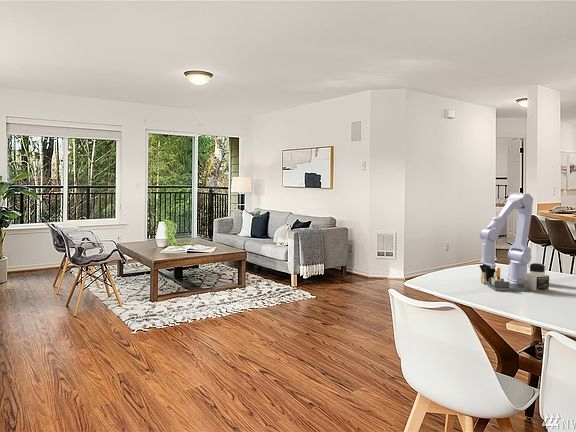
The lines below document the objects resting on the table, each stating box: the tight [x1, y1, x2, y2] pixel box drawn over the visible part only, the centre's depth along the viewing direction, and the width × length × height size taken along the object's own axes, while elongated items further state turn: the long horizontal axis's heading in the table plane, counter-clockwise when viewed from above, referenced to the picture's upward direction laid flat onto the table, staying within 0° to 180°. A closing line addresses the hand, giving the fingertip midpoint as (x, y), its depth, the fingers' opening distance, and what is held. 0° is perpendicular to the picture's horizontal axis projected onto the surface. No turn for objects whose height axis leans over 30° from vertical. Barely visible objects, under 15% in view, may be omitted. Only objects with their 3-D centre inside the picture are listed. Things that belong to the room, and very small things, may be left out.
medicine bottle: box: [525, 262, 550, 293], centre depth 207 cm, size 7×7×12 cm
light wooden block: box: [480, 272, 495, 285], centre depth 220 cm, size 4×5×5 cm
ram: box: [491, 267, 503, 285], centre depth 209 cm, size 5×3×8 cm, turn 175°
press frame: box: [487, 278, 530, 293], centre depth 209 cm, size 10×14×4 cm
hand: (487, 280), depth 220 cm, fingers closed on light wooden block, 4 cm apart
